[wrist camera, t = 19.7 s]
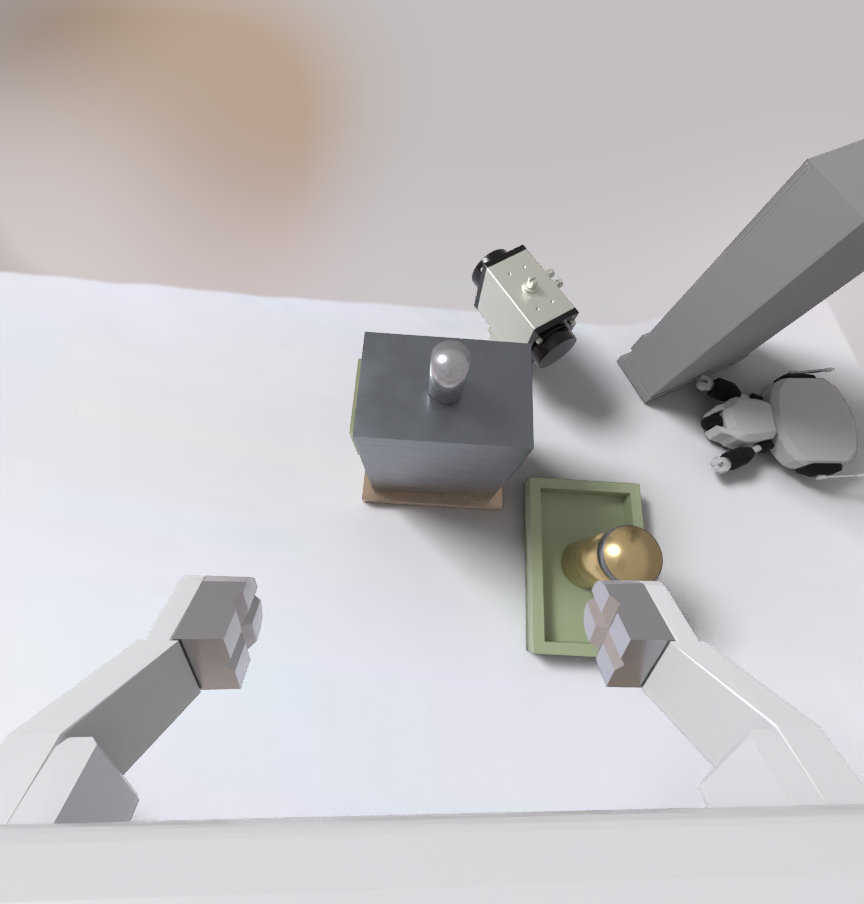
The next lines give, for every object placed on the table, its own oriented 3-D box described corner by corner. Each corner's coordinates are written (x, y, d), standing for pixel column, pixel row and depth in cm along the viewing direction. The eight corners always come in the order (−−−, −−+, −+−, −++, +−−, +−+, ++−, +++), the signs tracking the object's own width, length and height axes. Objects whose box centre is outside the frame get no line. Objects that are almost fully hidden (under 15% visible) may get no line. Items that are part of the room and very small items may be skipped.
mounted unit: (500, 510, 44) (570, 443, 24) (363, 501, 43) (322, 427, 24) (500, 419, 47) (562, 296, 27) (372, 411, 47) (344, 280, 27)
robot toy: (697, 484, 47) (840, 486, 46) (723, 473, 42) (880, 475, 42) (679, 383, 51) (810, 383, 50) (701, 364, 46) (845, 364, 46)
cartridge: (608, 589, 41) (667, 588, 32) (561, 588, 41) (605, 586, 31) (604, 541, 42) (658, 525, 33) (558, 539, 42) (600, 523, 33)
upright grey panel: (708, 321, 52) (954, 95, 29) (739, 361, 51) (1026, 158, 27) (614, 360, 50) (796, 150, 26) (643, 404, 48) (864, 222, 25)
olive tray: (643, 656, 40) (657, 660, 38) (526, 649, 40) (533, 653, 37) (627, 489, 45) (639, 483, 43) (523, 483, 45) (530, 477, 42)
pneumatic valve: (518, 399, 48) (551, 339, 36) (462, 322, 51) (476, 243, 39) (557, 377, 49) (601, 312, 38) (500, 302, 52) (524, 221, 40)
